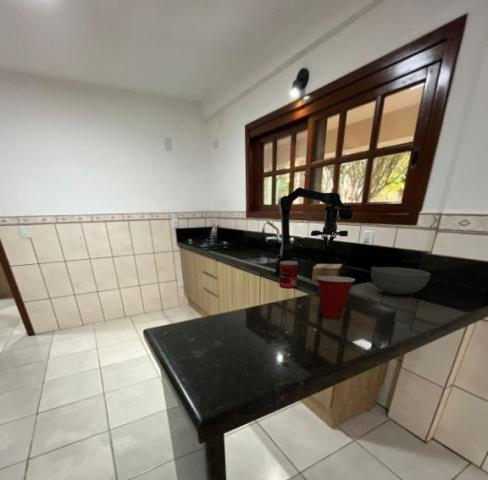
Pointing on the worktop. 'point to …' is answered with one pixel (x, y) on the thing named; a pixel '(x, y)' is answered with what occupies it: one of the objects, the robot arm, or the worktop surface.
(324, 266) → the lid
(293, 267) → the canned food
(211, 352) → the worktop surface
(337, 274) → the chest
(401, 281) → the bowl
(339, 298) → the plastic cup
